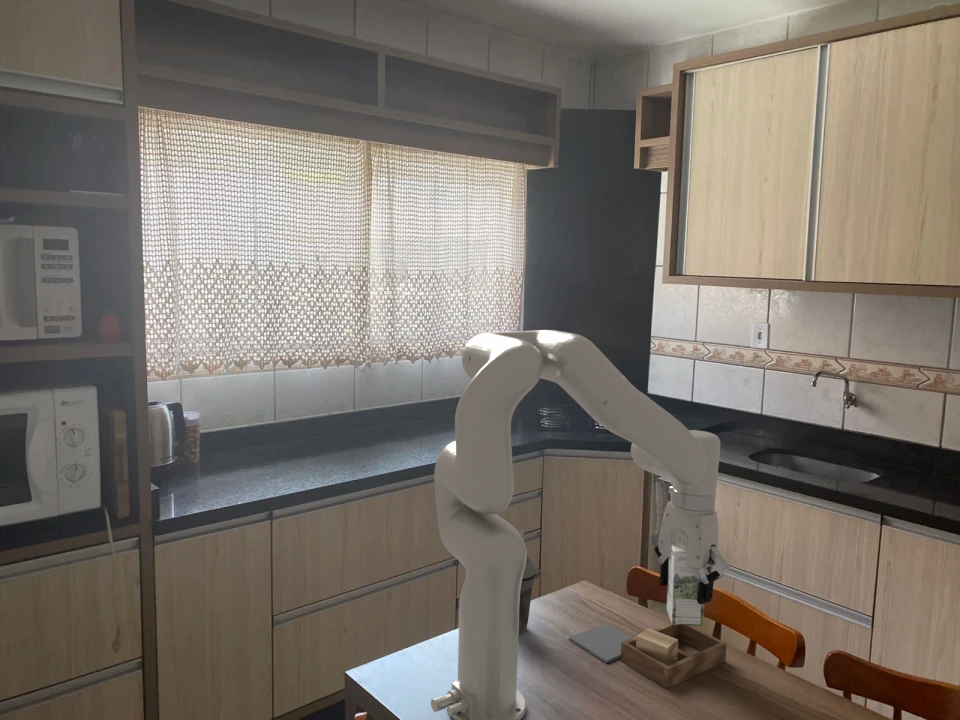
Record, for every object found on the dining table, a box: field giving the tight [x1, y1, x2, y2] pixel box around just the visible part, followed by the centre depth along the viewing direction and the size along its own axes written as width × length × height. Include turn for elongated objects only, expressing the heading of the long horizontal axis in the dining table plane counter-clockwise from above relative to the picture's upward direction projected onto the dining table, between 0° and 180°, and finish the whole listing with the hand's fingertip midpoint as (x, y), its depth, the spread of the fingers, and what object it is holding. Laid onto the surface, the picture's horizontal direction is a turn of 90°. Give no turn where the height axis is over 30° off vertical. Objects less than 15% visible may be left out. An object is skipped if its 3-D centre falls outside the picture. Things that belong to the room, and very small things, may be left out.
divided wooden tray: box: [619, 622, 727, 689], centre depth 135 cm, size 16×11×4 cm
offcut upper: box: [636, 627, 679, 664], centre depth 132 cm, size 4×6×3 cm, turn 48°
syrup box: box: [666, 545, 707, 627], centre depth 135 cm, size 6×6×14 cm
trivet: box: [568, 623, 632, 664], centre depth 141 cm, size 10×10×1 cm
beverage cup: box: [518, 529, 536, 635], centre depth 144 cm, size 7×7×20 cm
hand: (684, 592), depth 135 cm, fingers closed on syrup box, 8 cm apart
